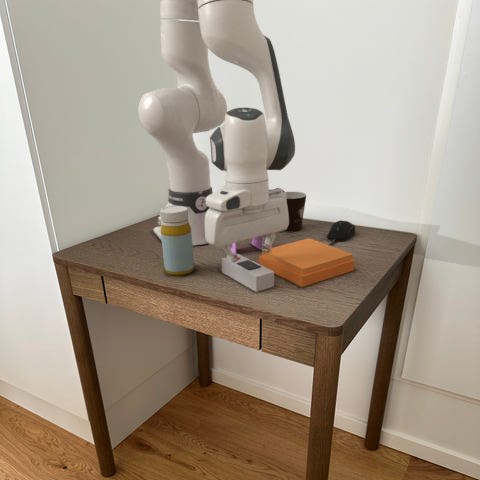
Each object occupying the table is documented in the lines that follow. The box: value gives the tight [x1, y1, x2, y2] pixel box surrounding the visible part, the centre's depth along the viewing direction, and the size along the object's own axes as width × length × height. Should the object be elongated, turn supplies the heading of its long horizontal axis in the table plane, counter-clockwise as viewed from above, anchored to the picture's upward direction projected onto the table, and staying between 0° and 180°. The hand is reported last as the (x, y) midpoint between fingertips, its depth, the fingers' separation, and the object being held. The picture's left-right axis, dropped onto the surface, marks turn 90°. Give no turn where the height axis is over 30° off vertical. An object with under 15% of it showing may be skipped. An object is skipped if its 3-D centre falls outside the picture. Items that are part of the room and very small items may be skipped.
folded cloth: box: [258, 237, 356, 288], centre depth 109 cm, size 16×16×4 cm
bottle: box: [159, 206, 195, 277], centre depth 107 cm, size 7×7×15 cm
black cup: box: [283, 191, 307, 233], centre depth 135 cm, size 12×9×10 cm
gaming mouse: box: [327, 220, 356, 246], centre depth 129 cm, size 6×15×4 cm, turn 152°
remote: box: [221, 253, 275, 293], centre depth 104 cm, size 14×5×4 cm, turn 34°
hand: (249, 257), depth 102 cm, fingers open, 8 cm apart
